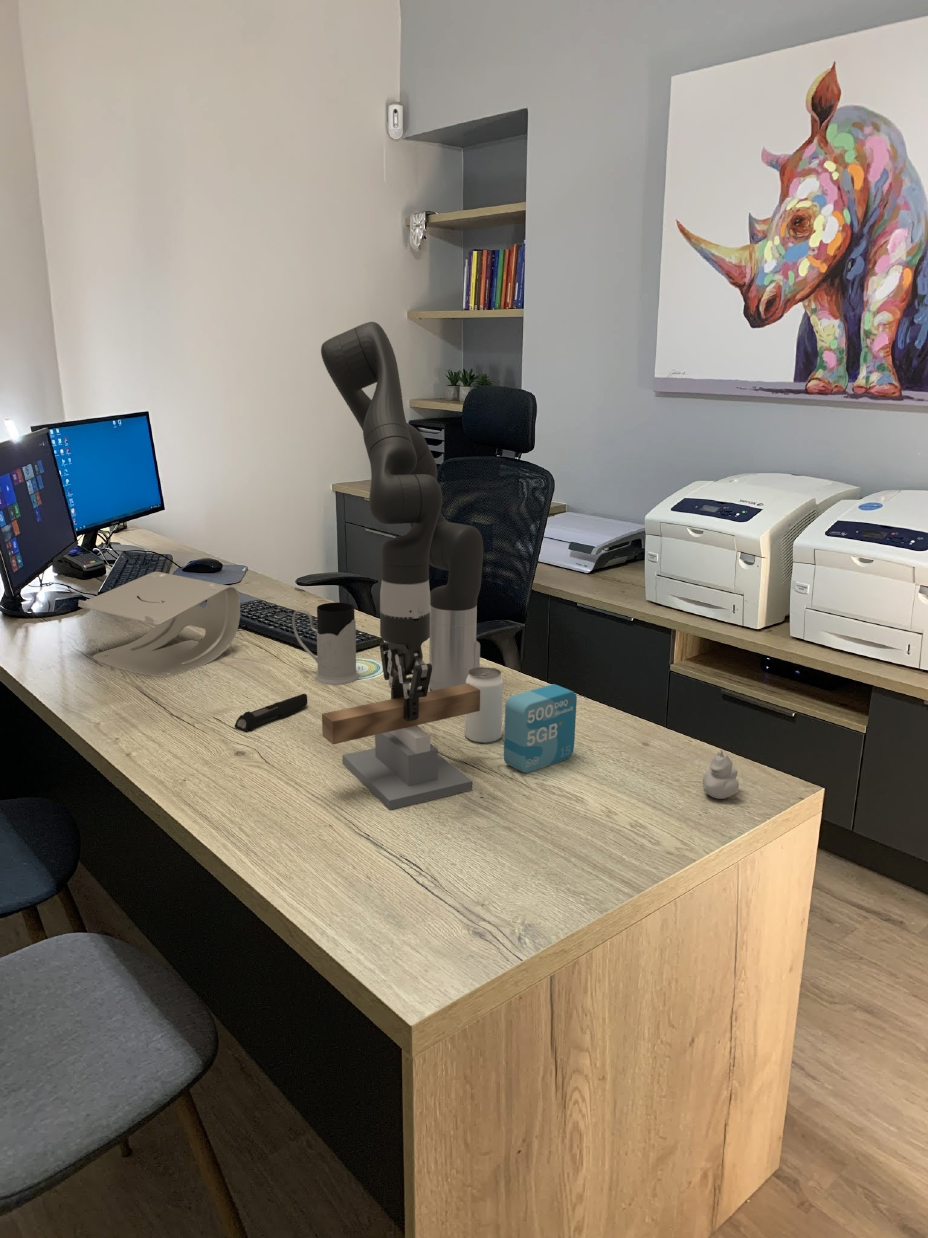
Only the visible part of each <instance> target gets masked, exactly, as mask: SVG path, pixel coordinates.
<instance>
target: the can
mask: <svg viewBox="0 0 928 1238" xmlns="http://www.w3.org/2000/svg"><path fill="white" fill-rule="evenodd" d="M468 673H469V675H468V677H467V679H466V684H467V683H468V684H470V685H472V686H474V687H476V688H477V689H479V690H480V711H477V712H473V713H469V714H464V736H465V737H466V739H468V741H470V742H473V743H476V744H477V743H478V744H491V743H494V742H497V741H499V739H501V738H502V731H503V729H502V728H503V702H504V701H503V699H504V681H503V680H504V679H503V677H502V671H501V670H500V669H498V668H495V667H493V666H492V667H490V666H480V667H475V668H472V669H470V670H469V672H468Z"/></svg>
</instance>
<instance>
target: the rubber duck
mask: <svg viewBox="0 0 928 1238" xmlns="http://www.w3.org/2000/svg"><path fill="white" fill-rule="evenodd" d="M709 765H710V766H709V770H707V771H706V772H705V773H704V774H703V775H702V776H703V777H702V785H703V791H704V792H705V793H706V794H707V795H708V796H710V797H711V798H714V799H718V800H725V799H727V798H729V797H732V796H734V795H735V794H737V793H738V791H739V787H740V783H739V781H738V779H736V778H737V776H738V769H736V768H735V767H733V761H732V759H731V758H730V757H729V755H728V754H726V755H724V752H723V749H720V751H717V753H715V755H714V756H713V757H712V759H711V761H710V764H709Z"/></svg>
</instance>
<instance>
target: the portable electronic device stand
mask: <svg viewBox="0 0 928 1238" xmlns="http://www.w3.org/2000/svg"><path fill="white" fill-rule="evenodd" d="M138 597H139V598H138ZM205 601H206V605H205V606H201V605H200V604H202V603H204V602H205ZM77 605H78V607H80V608H83V609H87V610H92V611H96V612H99V613H103V614H109V615H112V616H117V617H120V618H124V619H129V620H133V621H137V622H142V623H144V624H145V623H146V624H148V625H153V626H154V627H153V628H152V629H151V630H150V631H149V632H148V633H146V634H145V635H143V636H142V637H140V638H138V639H135V640H134V641H132V642H130V643H127V644H124V645H121V646H117V647H114V648H110V649H108V650H105V651H103V650H102V651H101V652H98V653H95V654H94V655H93V656H92V658H93V659H94V660H95V661H97V662H99V663H102V664H103V665H107V666H110V667H113V668H115V669H119V670H123V671H126V672H130V673H135V674H138V675H145V676H151V677H156V678H167V677H172V676H176V675H177V676H178V675H180V674H183V673H186V672H188V671H191V670H195V669H198V668H201V667H203V666H206V665H207V664H209V663H212V662H213V661H215V660H216V659H217V658H219V657H220V656H222V654H223V653H224V652H226V651H227V649H229V647H230V646H231V645H232V643H233V641H234V640H235V637H236V635H237V632H238V629H239V624H240V618H241V601H240V595H239V591H238V589H237V588H236V587H234V586H232V585H226V584H222V583H220V584H219V583H216V582H212V581H208V580H207V581H206V580H203V579H198V578H197V579H196V578H192V577H191V578H190V577H187V576H181V575H176V574H171V573H166V572H161V571H152V572H150V573H148V574H145V575H143V576H141V577H139V578H136V579H133V580H131V581H129V582H127V583H124V584H122V585H120V586H117V587H115V588H113V589H111V590H107V591H106V592H103V593H100V594H98V595H96V596H94V597H91V598H89V599H86V600H82V599H78V604H77ZM188 626H191V627H196V628H199V629H203V630H205V633H204V636H203V638H202V639H201V640H200V641H198V640H193V639H191V640H184V641H181V642H178V643H173V644H171V645H167V644H168V643H170V642H171V641H173V640H174V639H175V638H177V637H178V635H179V634H180V633H182V631H183V630H184V629H185V628H186V627H188ZM164 646H165V647H164Z"/></svg>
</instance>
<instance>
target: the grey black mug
mask: <svg viewBox="0 0 928 1238" xmlns="http://www.w3.org/2000/svg"><path fill="white" fill-rule="evenodd" d="M299 612H304V613H305V614H306V615H307V617H308V618H309V623H310V624H309V625H310V628H311V630H312V631H313V632H314V633H316V652H317V653H316V655H315V654H314V653H313V652H312V651H311V650H310V649H309V648H308V647H307V646H306V645H305V644H304V643H303V641H302V640H301V638H300V635H299V633H298V630H297V627H296V614H297V613H299ZM316 617H317V618H316V621H317V623H316V624H317V629H316V628H315V627H314V620H313V617H312V614H311V613H310V612H309V611H308V610H307V609H304V608H300V609H297V610H296V611H294V612H293V614H292V620H291V621H292V629H293V632H294V635H295V638H296V640H297V642H298V644H299V645H300V646H301V648H303V649H304V650H305V652H306V653H308V655H309V656H310V657H311V658H313V659H314V660H315V662H316V663H317V674H316V676H315V680H316V681H317V682H318V683H320V682H321V684H324V685H329V684H330V686H331V685H332V686H333V685H334V686H336V685H337V686H340V685H341V686H342V685H348V684H351V682H352V683H354V682H357V680H359V674H358V671H357V647H356V646H357V643H356V642H357V641H356V639H357V635H356V634H357V631H356V626H357V625H356V620H355V617H356V616H355V606H354V605H353V604H351V603H348V602H346V603H345V602H326V603H321V604H320V605H317V607H316Z"/></svg>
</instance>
